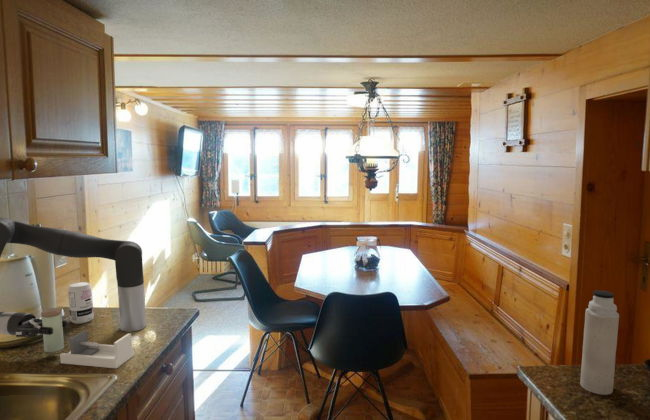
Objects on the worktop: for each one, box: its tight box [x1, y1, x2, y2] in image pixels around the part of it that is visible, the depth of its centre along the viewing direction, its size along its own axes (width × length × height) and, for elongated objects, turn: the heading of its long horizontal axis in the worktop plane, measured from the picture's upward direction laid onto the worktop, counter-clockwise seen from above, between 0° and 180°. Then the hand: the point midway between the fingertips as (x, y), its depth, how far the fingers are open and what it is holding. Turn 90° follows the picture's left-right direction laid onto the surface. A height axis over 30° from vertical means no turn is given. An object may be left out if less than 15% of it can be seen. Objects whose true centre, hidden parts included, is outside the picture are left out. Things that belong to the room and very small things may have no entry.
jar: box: [40, 307, 65, 353], centre depth 147 cm, size 6×6×13 cm
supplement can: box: [67, 281, 95, 325], centre depth 178 cm, size 8×8×15 cm
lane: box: [59, 332, 135, 369], centre depth 145 cm, size 20×9×8 cm, turn 79°
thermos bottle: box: [579, 290, 620, 396], centre depth 125 cm, size 8×8×28 cm
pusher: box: [69, 329, 99, 355], centre depth 145 cm, size 7×7×7 cm
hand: (59, 327), depth 146 cm, fingers closed on jar, 5 cm apart
